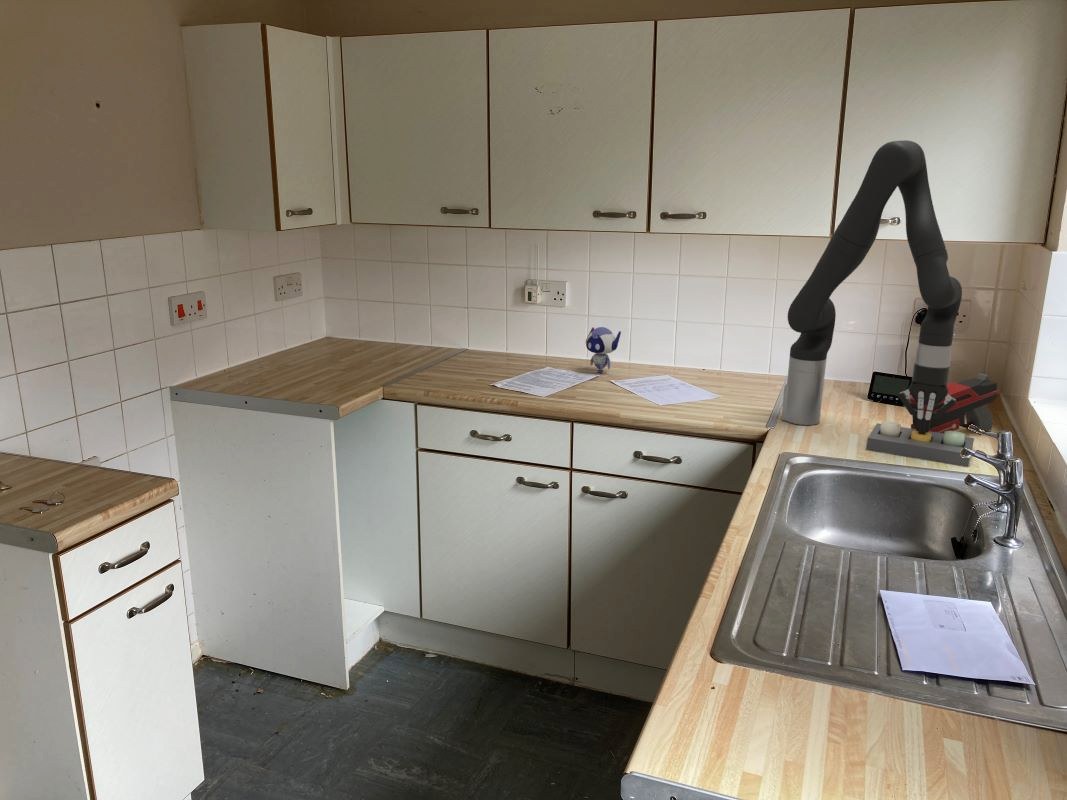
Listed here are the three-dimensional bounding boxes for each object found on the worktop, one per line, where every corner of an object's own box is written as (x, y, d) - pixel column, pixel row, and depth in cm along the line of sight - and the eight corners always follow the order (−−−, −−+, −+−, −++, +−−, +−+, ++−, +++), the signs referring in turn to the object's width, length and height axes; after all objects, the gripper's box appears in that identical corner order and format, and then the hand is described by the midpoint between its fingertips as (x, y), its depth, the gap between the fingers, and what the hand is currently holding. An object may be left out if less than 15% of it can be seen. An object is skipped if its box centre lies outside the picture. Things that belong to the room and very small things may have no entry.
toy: (577, 373, 272) (579, 327, 268) (594, 367, 280) (595, 323, 276) (606, 378, 267) (608, 331, 262) (622, 372, 274) (624, 327, 270)
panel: (865, 449, 203) (867, 437, 202) (875, 434, 215) (877, 423, 214) (967, 466, 193) (969, 454, 192) (972, 449, 204) (974, 438, 204)
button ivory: (878, 438, 206) (879, 424, 205) (881, 433, 210) (882, 420, 209) (897, 441, 204) (899, 427, 203) (900, 436, 207) (902, 423, 207)
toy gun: (999, 428, 218) (998, 374, 213) (926, 457, 212) (924, 401, 207) (982, 422, 223) (981, 369, 218) (910, 450, 217) (907, 396, 212)
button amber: (908, 448, 203) (910, 434, 202) (910, 443, 207) (912, 429, 206) (928, 451, 201) (930, 437, 200) (930, 446, 204) (932, 432, 203)
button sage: (941, 448, 199) (943, 434, 198) (943, 443, 203) (945, 429, 202) (962, 452, 197) (964, 437, 196) (963, 446, 201) (965, 432, 200)
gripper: (899, 362, 198) (890, 433, 203) (962, 369, 192) (951, 442, 196) (903, 356, 204) (894, 425, 209) (964, 363, 198) (954, 434, 202)
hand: (922, 433), depth 203 cm, fingers closed
